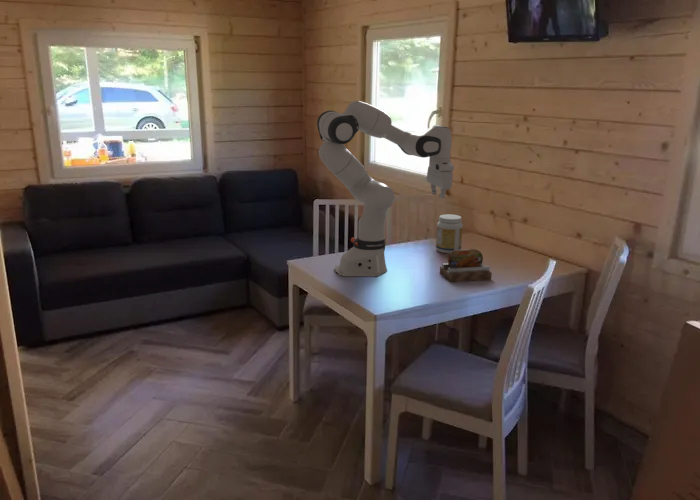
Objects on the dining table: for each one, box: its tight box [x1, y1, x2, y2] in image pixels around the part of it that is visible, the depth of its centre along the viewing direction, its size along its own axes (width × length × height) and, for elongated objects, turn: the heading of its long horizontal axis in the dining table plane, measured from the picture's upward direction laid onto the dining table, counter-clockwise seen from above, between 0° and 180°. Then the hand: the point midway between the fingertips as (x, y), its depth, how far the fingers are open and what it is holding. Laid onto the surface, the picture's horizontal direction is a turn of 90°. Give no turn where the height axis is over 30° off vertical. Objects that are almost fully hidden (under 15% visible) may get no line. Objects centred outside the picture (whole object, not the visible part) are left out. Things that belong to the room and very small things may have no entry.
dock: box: [439, 261, 492, 283], centre depth 253 cm, size 18×12×5 cm, turn 103°
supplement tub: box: [435, 213, 464, 255], centre depth 288 cm, size 12×12×17 cm
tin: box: [447, 248, 484, 268], centre depth 252 cm, size 15×3×8 cm, turn 103°
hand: (437, 196), depth 260 cm, fingers open, 8 cm apart
